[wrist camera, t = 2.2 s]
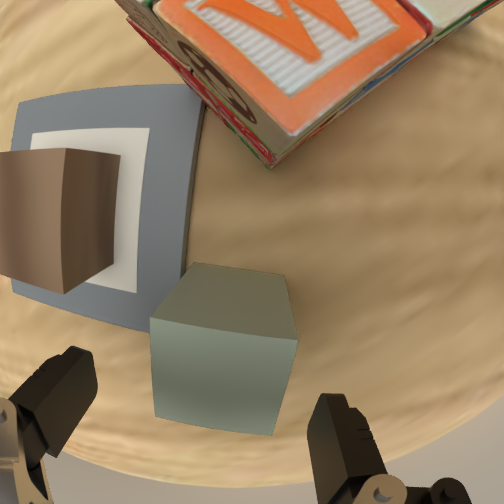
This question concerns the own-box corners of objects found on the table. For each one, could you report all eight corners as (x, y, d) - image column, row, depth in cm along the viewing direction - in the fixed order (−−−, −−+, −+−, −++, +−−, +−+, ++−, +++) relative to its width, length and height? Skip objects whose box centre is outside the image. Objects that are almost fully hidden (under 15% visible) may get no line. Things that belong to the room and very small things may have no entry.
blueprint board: (208, 90, 14) (178, 43, 8) (181, 330, 17) (149, 392, 11) (27, 104, 14) (-31, 93, 8) (20, 287, 17) (-30, 316, 11)
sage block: (283, 275, 16) (298, 340, 9) (269, 350, 17) (271, 435, 10) (194, 261, 16) (149, 317, 9) (189, 338, 17) (155, 416, 10)
